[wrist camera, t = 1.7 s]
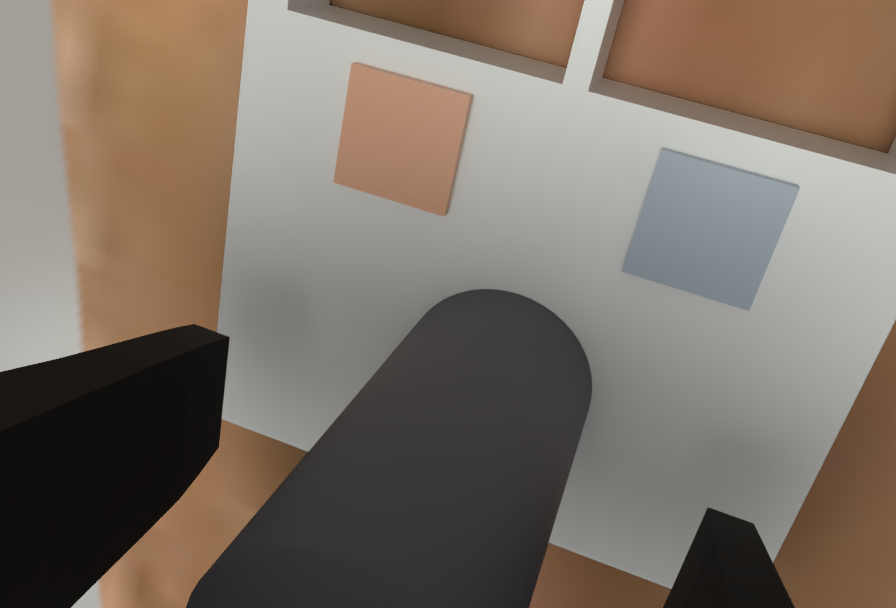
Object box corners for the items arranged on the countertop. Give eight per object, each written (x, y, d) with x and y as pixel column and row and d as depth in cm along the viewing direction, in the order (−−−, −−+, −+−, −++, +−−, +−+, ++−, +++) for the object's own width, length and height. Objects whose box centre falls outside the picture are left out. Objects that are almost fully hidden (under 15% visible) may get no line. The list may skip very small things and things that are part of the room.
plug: (562, 487, 15) (449, 853, 9) (390, 424, 16) (174, 726, 10) (617, 325, 14) (527, 630, 7) (425, 263, 14) (195, 497, 8)
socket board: (743, 560, 16) (745, 624, 15) (248, 379, 18) (203, 418, 17) (1149, -279, 10) (1227, -323, 9) (342, -412, 12) (284, -466, 11)
